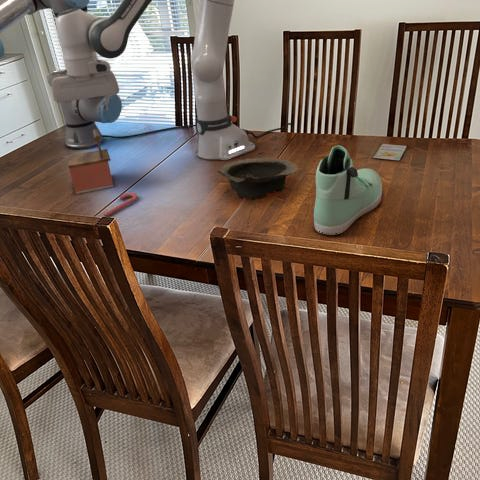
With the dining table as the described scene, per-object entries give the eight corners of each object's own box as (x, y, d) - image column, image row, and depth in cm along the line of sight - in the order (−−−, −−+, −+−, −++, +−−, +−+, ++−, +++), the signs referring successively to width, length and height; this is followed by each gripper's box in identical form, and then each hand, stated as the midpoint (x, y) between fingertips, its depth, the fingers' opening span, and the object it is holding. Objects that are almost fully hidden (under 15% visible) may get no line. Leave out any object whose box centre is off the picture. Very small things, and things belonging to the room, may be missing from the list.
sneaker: (389, 187, 148) (396, 123, 138) (356, 242, 123) (361, 168, 112) (346, 181, 154) (350, 119, 144) (306, 232, 129) (307, 161, 118)
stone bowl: (243, 213, 140) (240, 183, 136) (209, 189, 160) (205, 162, 156) (313, 190, 149) (312, 161, 144) (272, 170, 169) (270, 144, 165)
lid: (107, 151, 167) (102, 127, 163) (110, 160, 159) (105, 135, 155) (68, 158, 164) (61, 133, 160) (69, 168, 156) (62, 142, 152)
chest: (110, 176, 172) (105, 151, 167) (113, 186, 164) (108, 161, 159) (74, 183, 169) (68, 158, 164) (76, 194, 161) (69, 168, 156)
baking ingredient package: (373, 156, 168) (382, 143, 180) (373, 158, 168) (382, 144, 180) (399, 159, 165) (407, 145, 176) (399, 160, 165) (406, 146, 176)
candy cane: (93, 214, 147) (92, 209, 146) (129, 194, 157) (128, 190, 156) (106, 218, 144) (105, 214, 143) (142, 198, 154) (141, 194, 153)
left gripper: (-57, 86, 148) (-33, 151, 159) (-42, 100, 131) (-15, 172, 142) (-31, 81, 152) (-9, 145, 163) (-13, 94, 135) (11, 165, 146)
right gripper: (45, 74, 142) (58, 119, 150) (114, 64, 147) (123, 109, 155) (45, 70, 148) (57, 114, 155) (112, 61, 153) (121, 104, 160)
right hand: (91, 111), depth 155 cm, fingers open, 8 cm apart
